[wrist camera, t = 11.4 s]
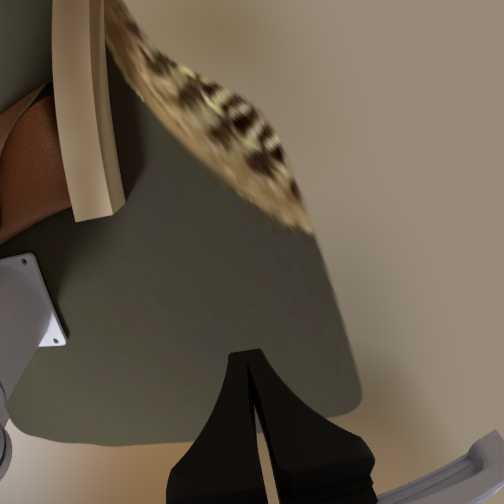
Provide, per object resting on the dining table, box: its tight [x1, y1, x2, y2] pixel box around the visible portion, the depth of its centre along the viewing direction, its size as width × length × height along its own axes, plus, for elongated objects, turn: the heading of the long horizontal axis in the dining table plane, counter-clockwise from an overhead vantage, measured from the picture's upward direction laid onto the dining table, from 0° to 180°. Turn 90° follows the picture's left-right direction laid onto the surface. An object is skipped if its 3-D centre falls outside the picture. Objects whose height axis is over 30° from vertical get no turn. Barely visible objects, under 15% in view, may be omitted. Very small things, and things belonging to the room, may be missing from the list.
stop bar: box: [52, 0, 126, 222], centre depth 14 cm, size 2×18×3 cm, turn 6°
